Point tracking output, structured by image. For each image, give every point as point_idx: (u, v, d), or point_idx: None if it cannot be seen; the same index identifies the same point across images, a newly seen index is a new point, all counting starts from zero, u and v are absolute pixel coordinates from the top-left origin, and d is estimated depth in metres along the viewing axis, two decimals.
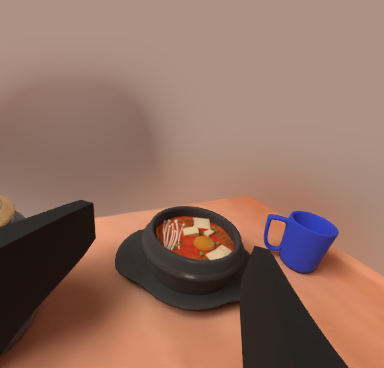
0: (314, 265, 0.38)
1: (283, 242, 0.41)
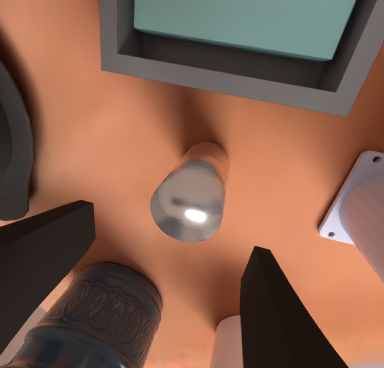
0: None
1: None
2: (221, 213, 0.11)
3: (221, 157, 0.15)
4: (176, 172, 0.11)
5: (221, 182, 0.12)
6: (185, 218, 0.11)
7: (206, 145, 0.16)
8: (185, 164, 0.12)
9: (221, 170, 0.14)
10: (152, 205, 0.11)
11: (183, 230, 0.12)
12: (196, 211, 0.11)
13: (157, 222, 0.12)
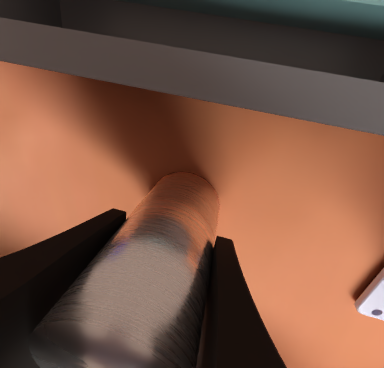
0: None
1: None
2: None
3: (204, 205, 0.09)
4: (90, 277, 0.05)
5: (196, 283, 0.06)
6: None
7: (180, 181, 0.10)
8: (123, 243, 0.06)
9: (200, 242, 0.07)
10: (35, 354, 0.05)
11: None
12: None
13: None
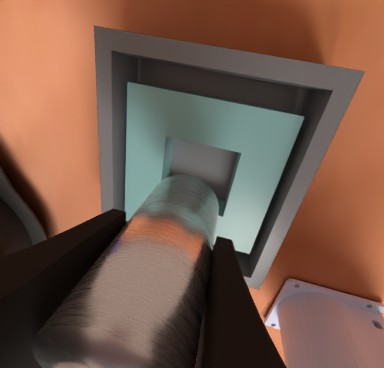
0: None
1: None
2: None
3: (203, 209, 0.09)
4: (92, 282, 0.05)
5: (195, 287, 0.06)
6: None
7: (180, 184, 0.10)
8: (123, 248, 0.06)
9: (199, 246, 0.07)
10: (38, 356, 0.05)
11: None
12: None
13: None
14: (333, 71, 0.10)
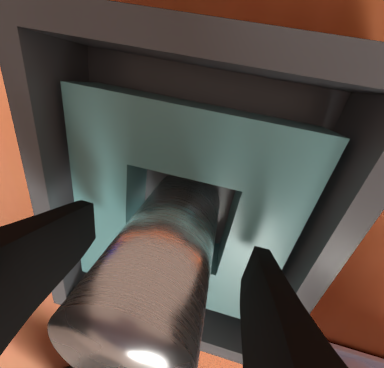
0: None
1: None
2: None
3: (205, 203, 0.09)
4: (104, 268, 0.06)
5: (199, 274, 0.06)
6: (120, 367, 0.05)
7: (183, 180, 0.10)
8: (131, 237, 0.07)
9: (202, 237, 0.08)
10: (52, 338, 0.05)
11: None
12: (141, 362, 0.05)
13: (69, 362, 0.06)
14: None
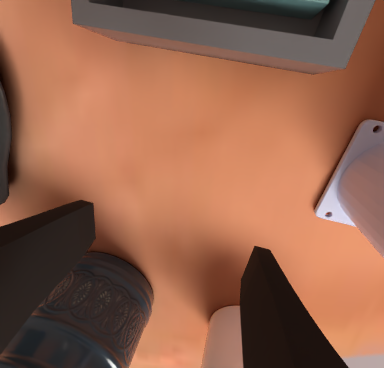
0: None
1: None
2: None
3: None
4: None
5: None
6: None
7: None
8: None
9: None
10: None
11: None
12: None
13: None
14: None
